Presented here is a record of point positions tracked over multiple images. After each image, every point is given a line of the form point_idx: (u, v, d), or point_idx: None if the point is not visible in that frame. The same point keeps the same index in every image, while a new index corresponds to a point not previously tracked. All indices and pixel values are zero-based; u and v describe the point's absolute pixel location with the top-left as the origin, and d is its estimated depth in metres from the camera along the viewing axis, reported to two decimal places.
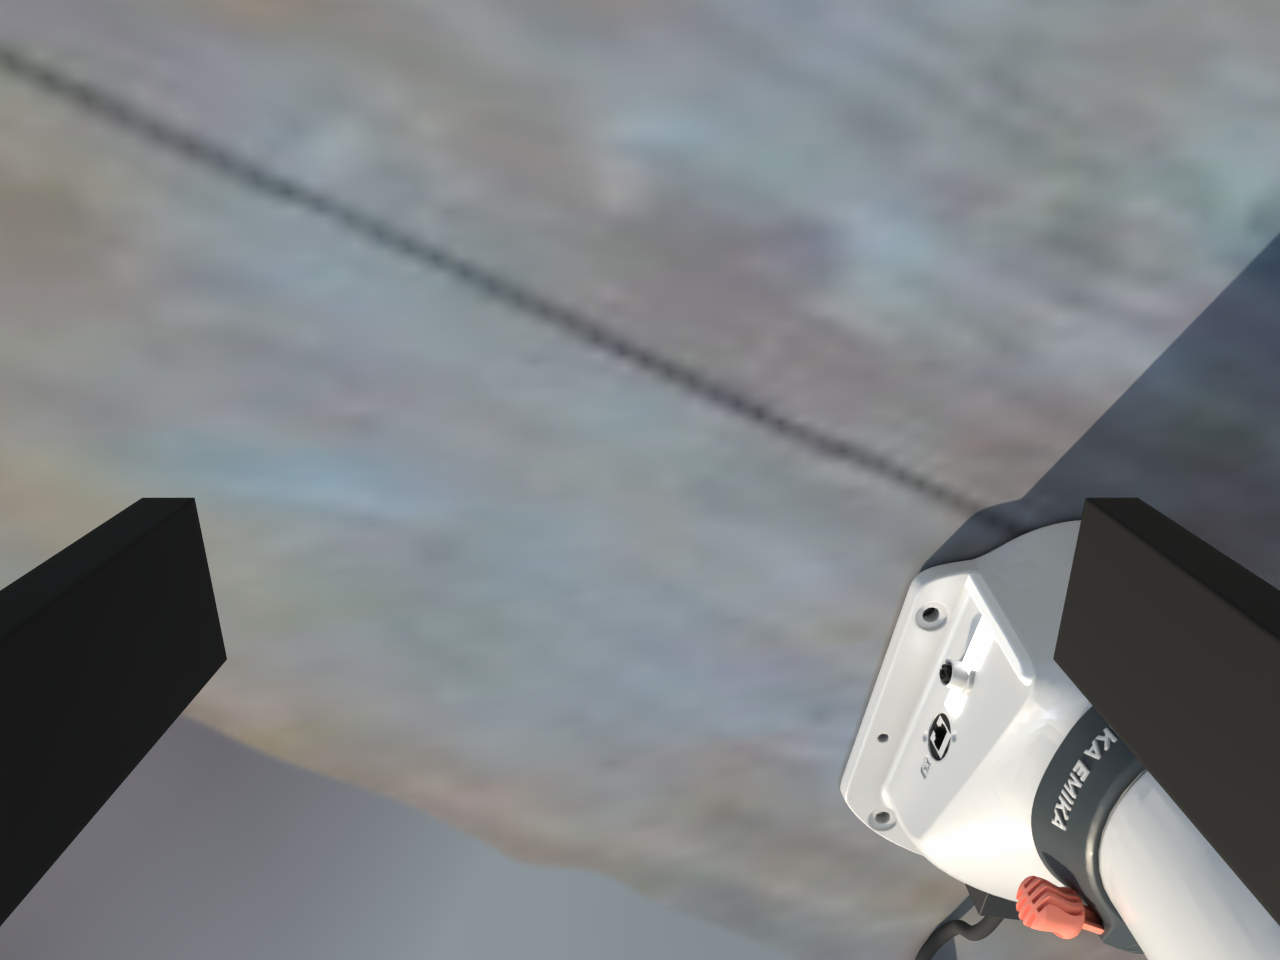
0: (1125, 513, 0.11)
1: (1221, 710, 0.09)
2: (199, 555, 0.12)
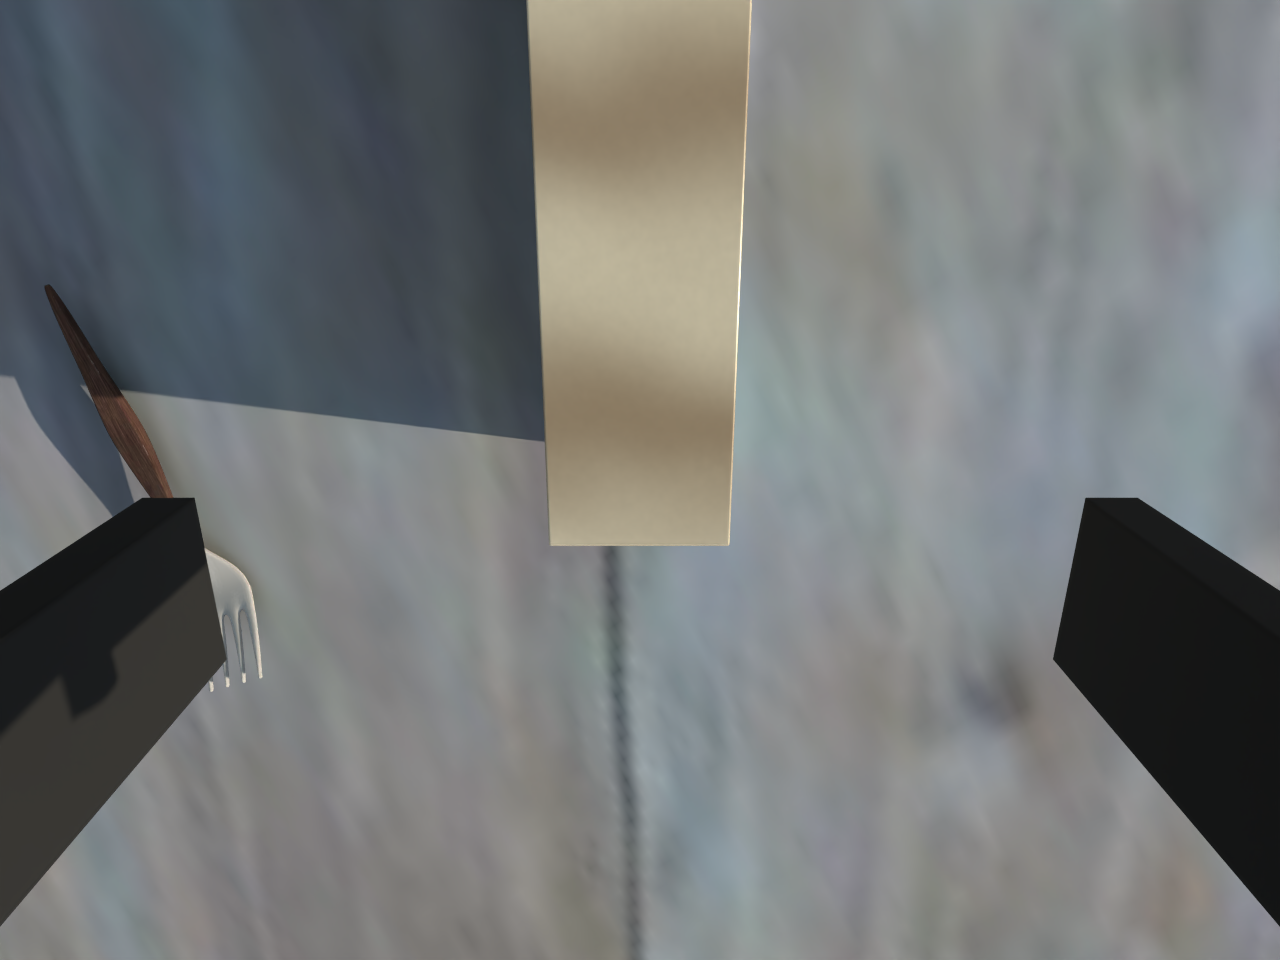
0: (1125, 513, 0.11)
1: (1221, 710, 0.09)
2: (199, 555, 0.12)
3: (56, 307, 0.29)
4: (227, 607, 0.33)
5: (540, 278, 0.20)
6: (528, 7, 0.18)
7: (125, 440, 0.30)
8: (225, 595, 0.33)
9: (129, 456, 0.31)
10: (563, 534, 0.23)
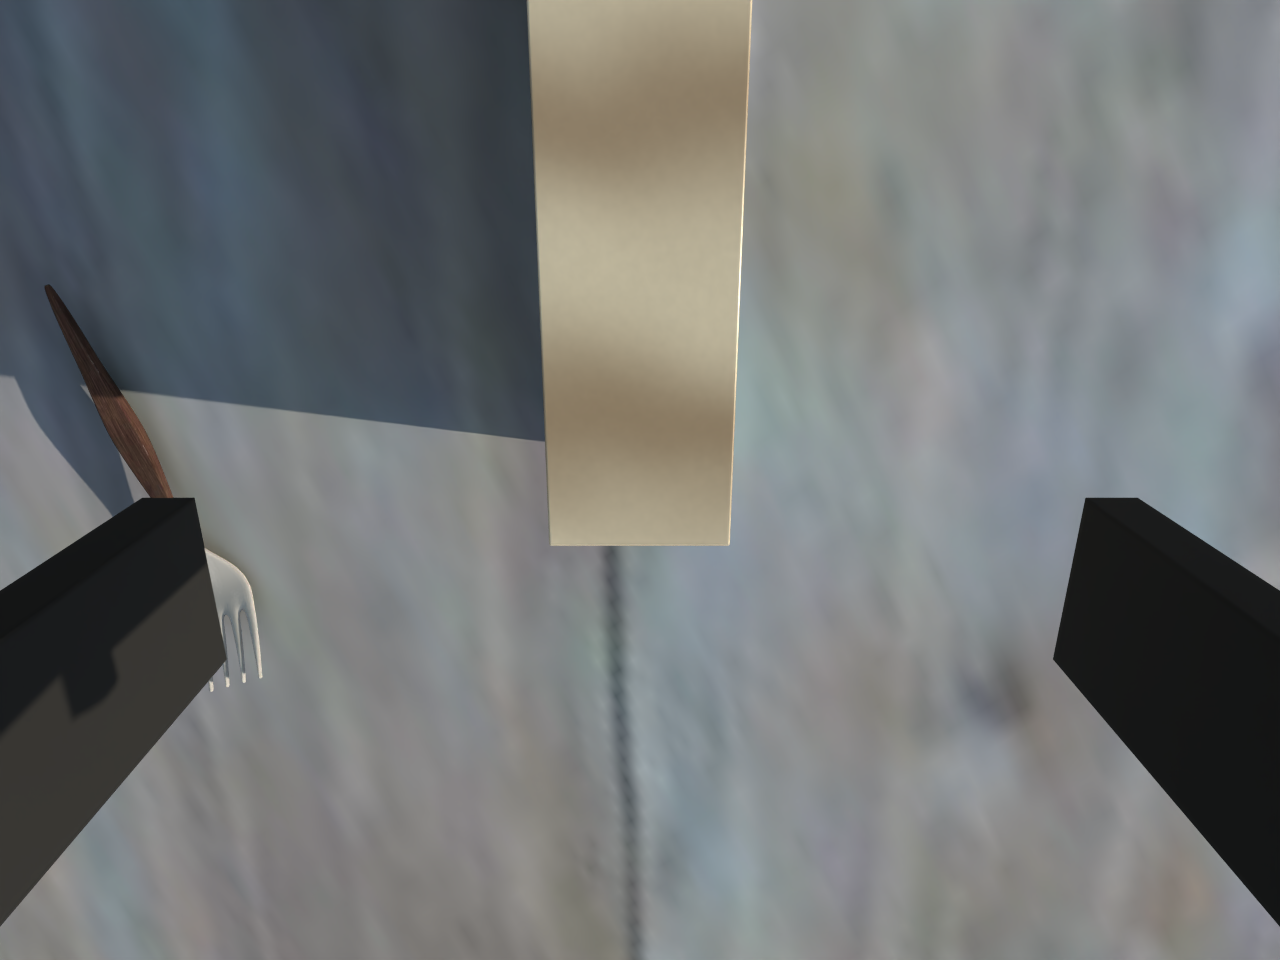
0: (1125, 513, 0.11)
1: (1221, 710, 0.09)
2: (199, 555, 0.12)
3: (56, 307, 0.29)
4: (227, 607, 0.33)
5: (540, 278, 0.20)
6: (528, 7, 0.18)
7: (125, 440, 0.30)
8: (225, 595, 0.33)
9: (129, 456, 0.31)
10: (563, 534, 0.23)
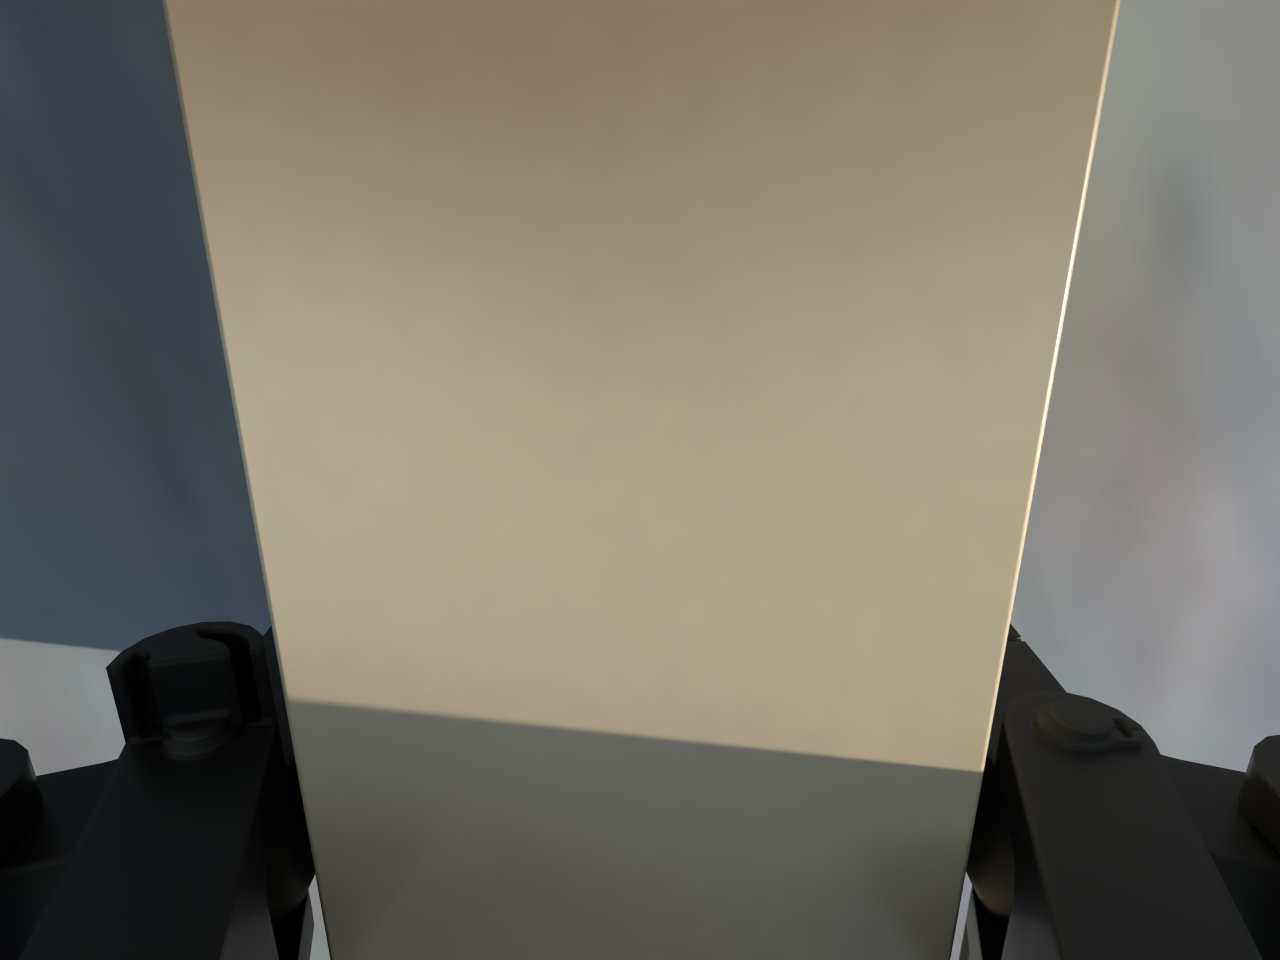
0: None
1: None
2: None
3: None
4: None
5: (268, 571, 0.05)
6: None
7: None
8: None
9: None
10: None
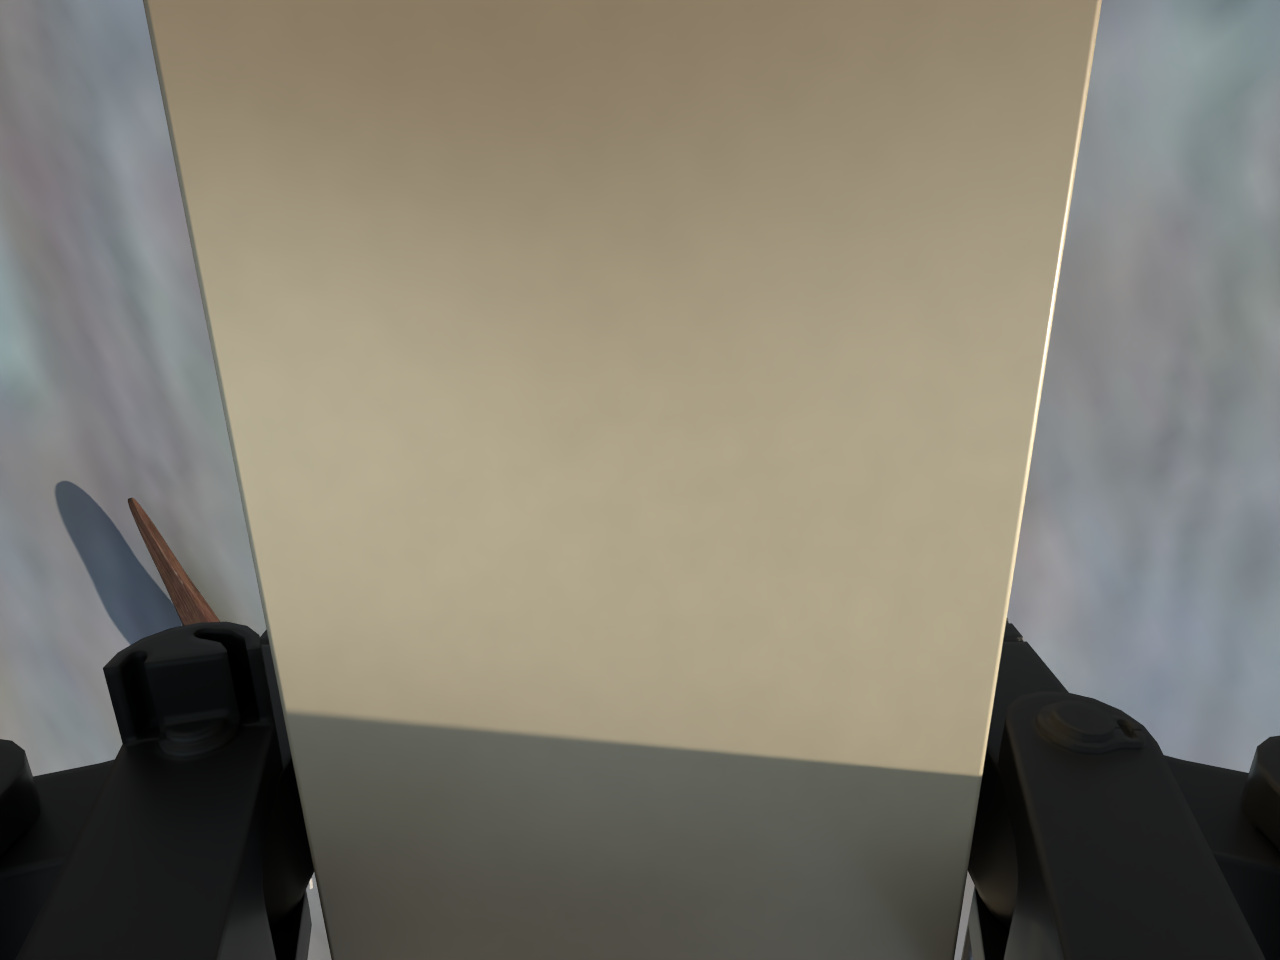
0: None
1: None
2: None
3: (140, 520, 0.27)
4: None
5: (260, 564, 0.05)
6: None
7: None
8: None
9: None
10: None
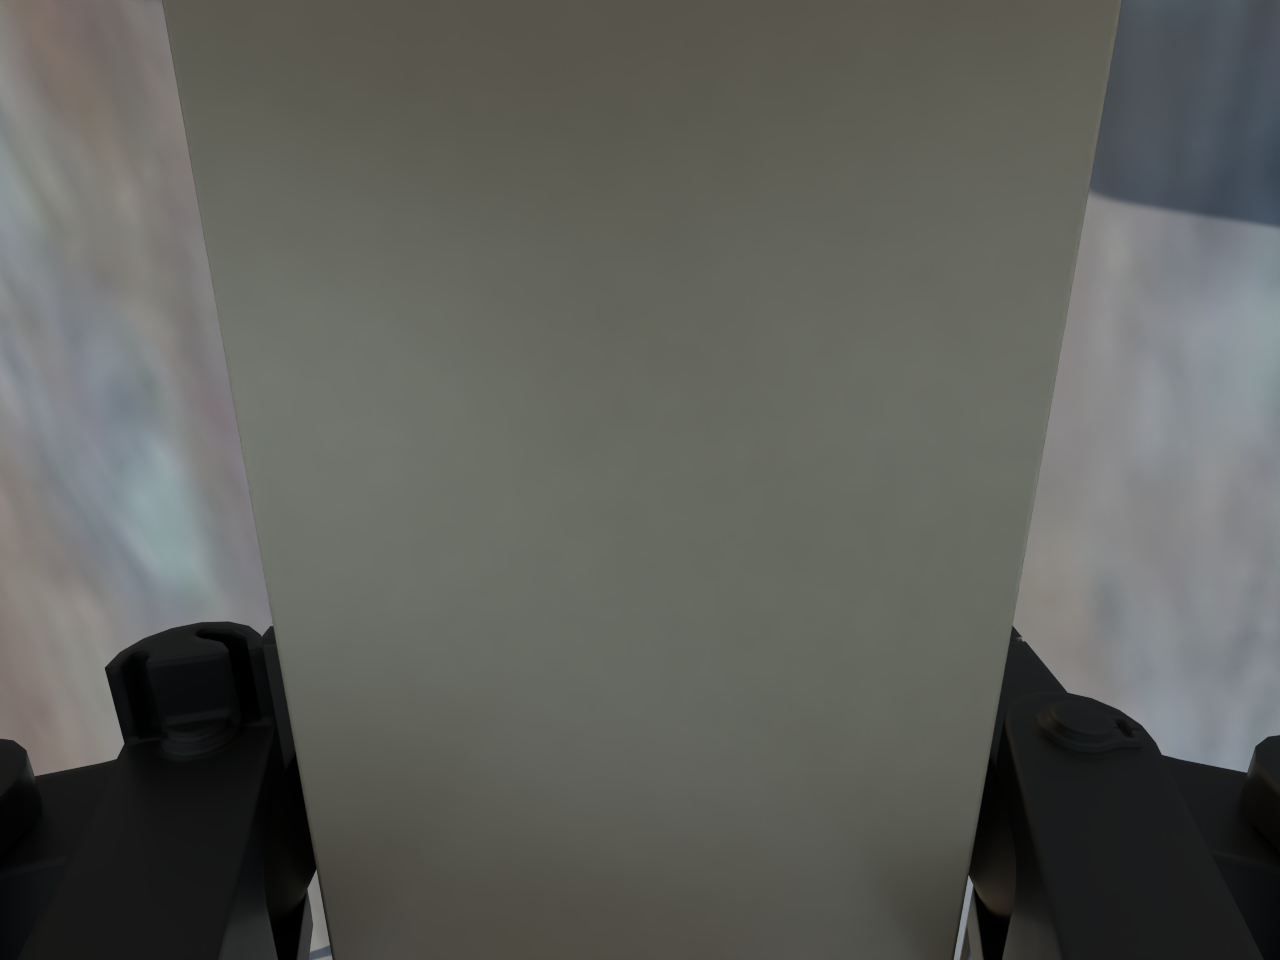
0: None
1: None
2: None
3: None
4: None
5: (267, 561, 0.05)
6: None
7: None
8: None
9: None
10: None
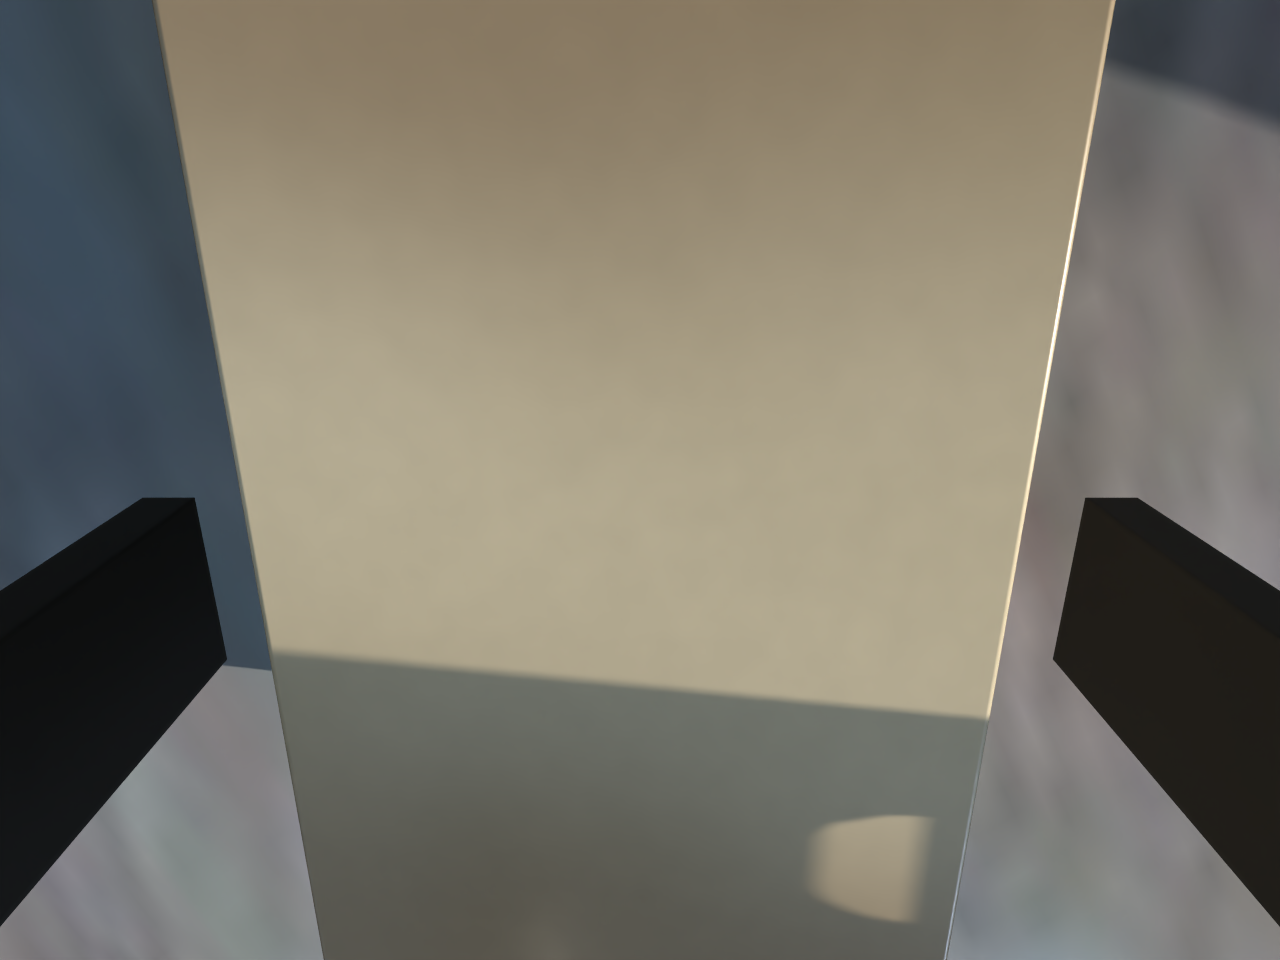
0: (1125, 513, 0.11)
1: (1221, 710, 0.09)
2: (200, 555, 0.12)
3: None
4: None
5: (261, 579, 0.05)
6: None
7: None
8: None
9: None
10: None
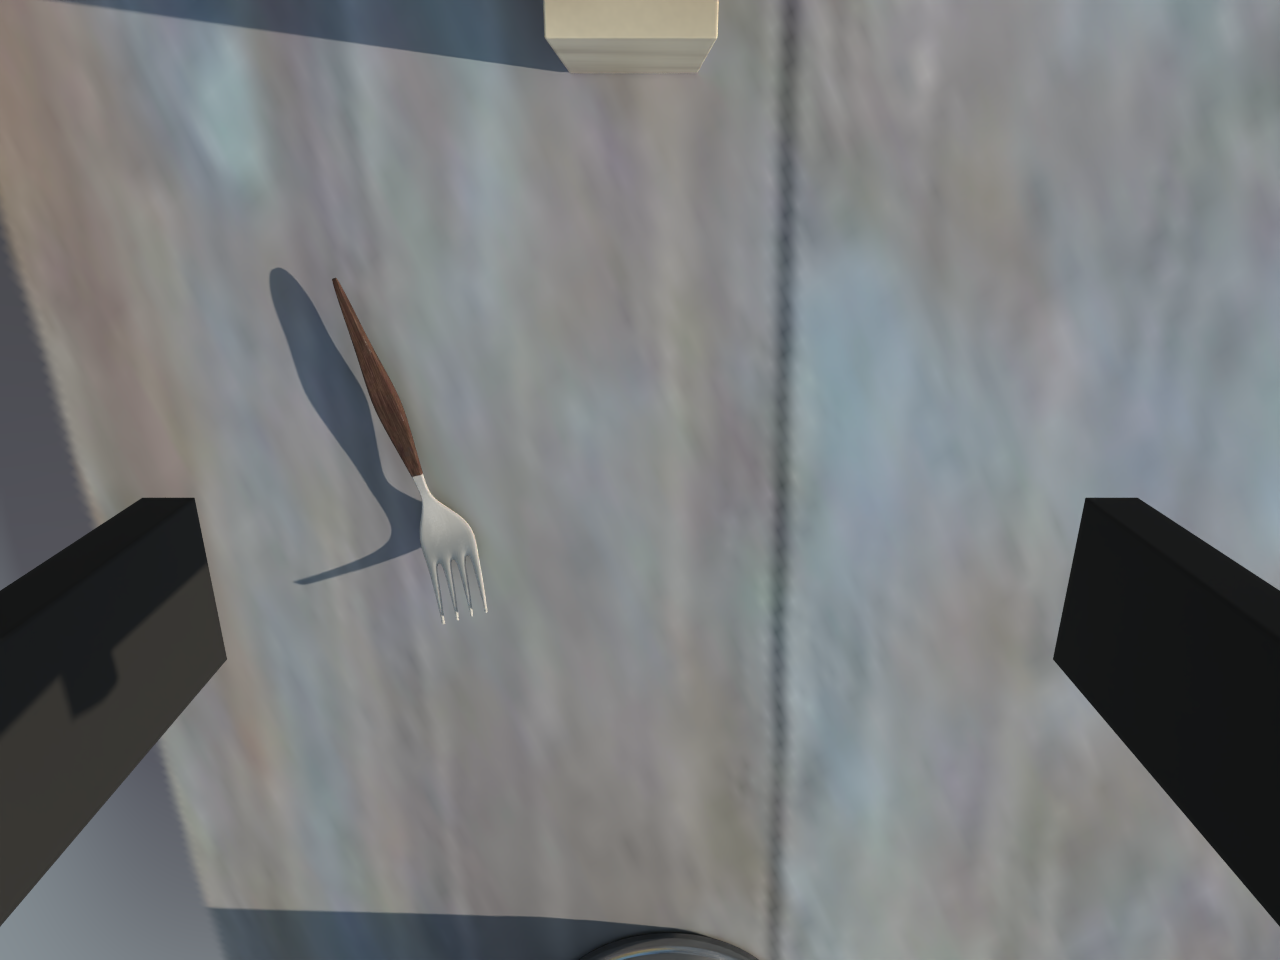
0: (1125, 513, 0.11)
1: (1221, 710, 0.09)
2: (200, 555, 0.12)
3: (341, 297, 0.34)
4: (455, 553, 0.39)
5: None
6: None
7: (386, 408, 0.36)
8: (453, 543, 0.39)
9: (387, 423, 0.36)
10: (558, 23, 0.24)
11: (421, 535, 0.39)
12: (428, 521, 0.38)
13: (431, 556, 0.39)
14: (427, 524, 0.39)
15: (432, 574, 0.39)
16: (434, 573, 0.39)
